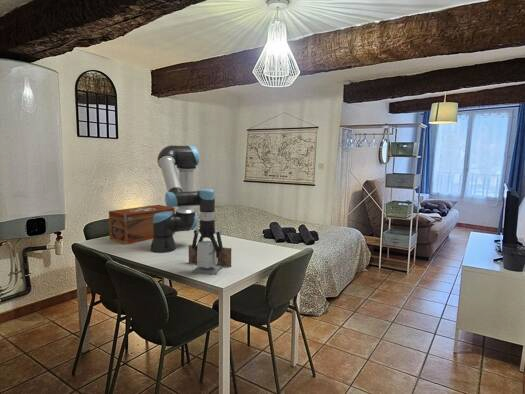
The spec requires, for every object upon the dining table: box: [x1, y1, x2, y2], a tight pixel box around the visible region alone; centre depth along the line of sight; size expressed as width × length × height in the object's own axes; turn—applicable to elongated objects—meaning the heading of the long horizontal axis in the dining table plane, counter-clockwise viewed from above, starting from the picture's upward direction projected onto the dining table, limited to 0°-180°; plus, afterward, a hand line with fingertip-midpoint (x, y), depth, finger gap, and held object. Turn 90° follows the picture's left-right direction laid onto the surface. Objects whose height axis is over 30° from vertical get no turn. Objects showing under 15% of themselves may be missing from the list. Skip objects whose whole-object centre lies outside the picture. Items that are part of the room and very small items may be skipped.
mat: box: [192, 265, 223, 276], centre depth 169 cm, size 12×10×1 cm
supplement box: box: [196, 239, 218, 268], centre depth 168 cm, size 7×7×13 cm
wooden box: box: [108, 204, 176, 245], centre depth 235 cm, size 20×41×20 cm, turn 143°
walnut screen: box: [188, 244, 232, 268], centre depth 178 cm, size 24×1×10 cm, turn 79°
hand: (207, 262), depth 169 cm, fingers closed on supplement box, 9 cm apart
